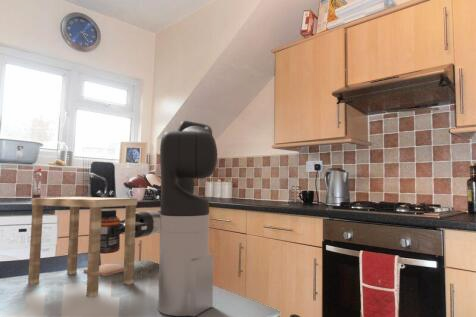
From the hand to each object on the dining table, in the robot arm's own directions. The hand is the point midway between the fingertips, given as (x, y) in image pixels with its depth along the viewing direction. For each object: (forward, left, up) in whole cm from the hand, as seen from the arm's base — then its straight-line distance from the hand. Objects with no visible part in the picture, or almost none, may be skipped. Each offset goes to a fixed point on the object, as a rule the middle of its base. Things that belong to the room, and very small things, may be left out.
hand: (101, 230), depth 89 cm
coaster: (0, -2, -11) cm, 11 cm away
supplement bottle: (0, -3, -6) cm, 7 cm away
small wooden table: (-4, +9, -11) cm, 15 cm away
